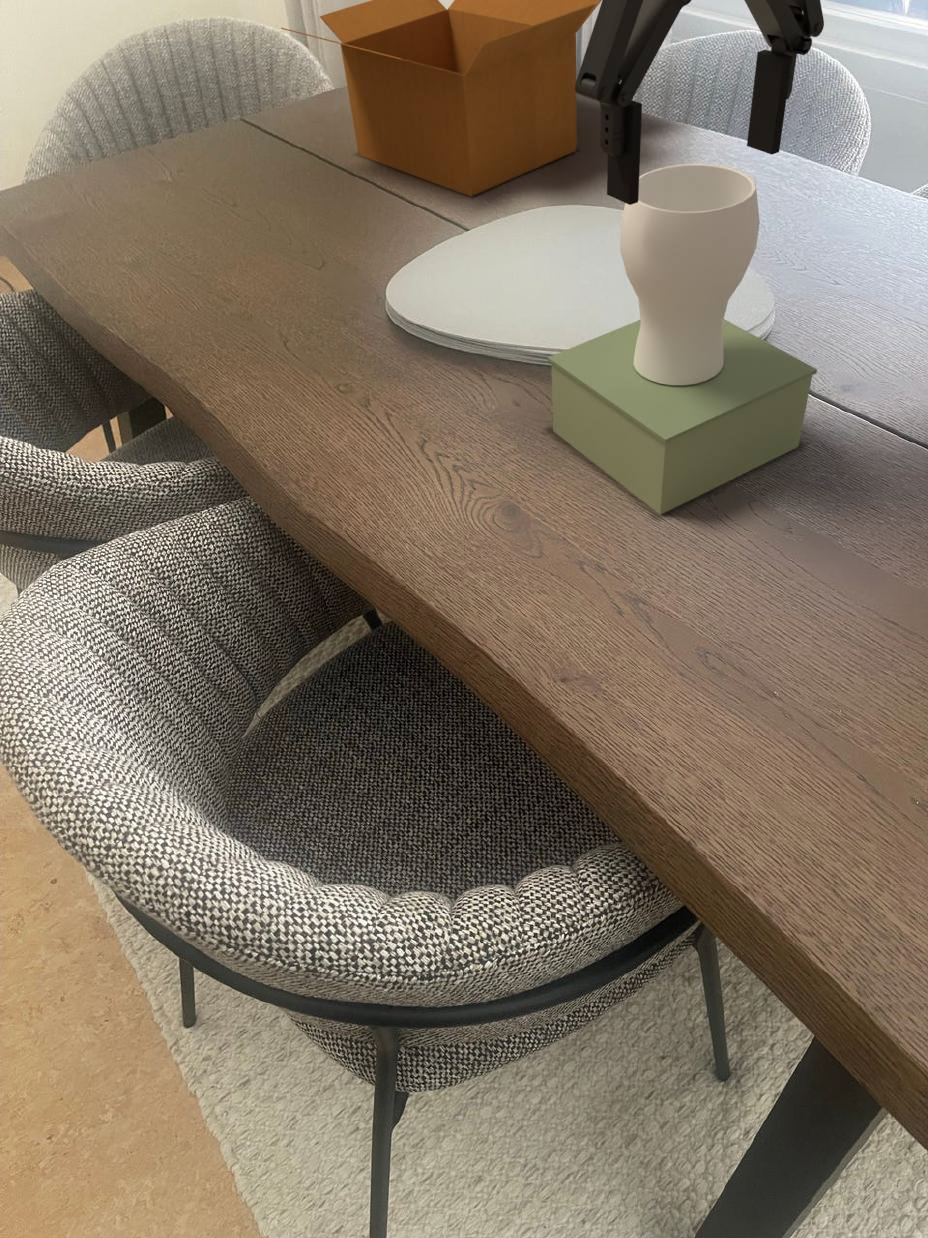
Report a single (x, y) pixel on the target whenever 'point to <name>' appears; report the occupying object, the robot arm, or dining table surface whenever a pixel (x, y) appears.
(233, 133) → the dining table surface
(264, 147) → the dining table surface
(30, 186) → the dining table surface
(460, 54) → the box
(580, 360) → the green flat-topped block
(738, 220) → the cup
